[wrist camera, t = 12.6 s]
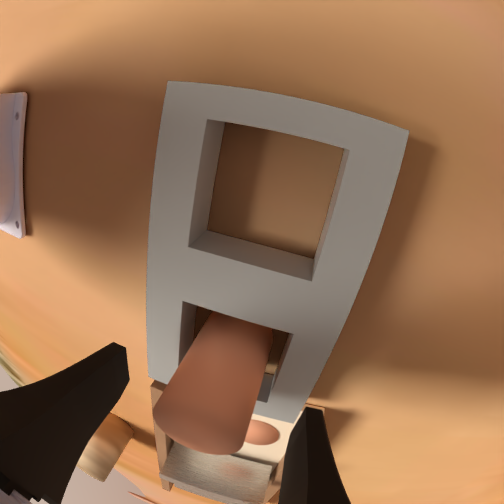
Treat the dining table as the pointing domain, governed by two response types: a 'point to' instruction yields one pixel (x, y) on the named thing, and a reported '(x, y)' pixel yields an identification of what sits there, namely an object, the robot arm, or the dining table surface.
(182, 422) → the terracotta peg
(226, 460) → the cover
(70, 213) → the dining table surface
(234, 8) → the dining table surface
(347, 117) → the socket board
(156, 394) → the pattern tray
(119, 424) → the birch peg
